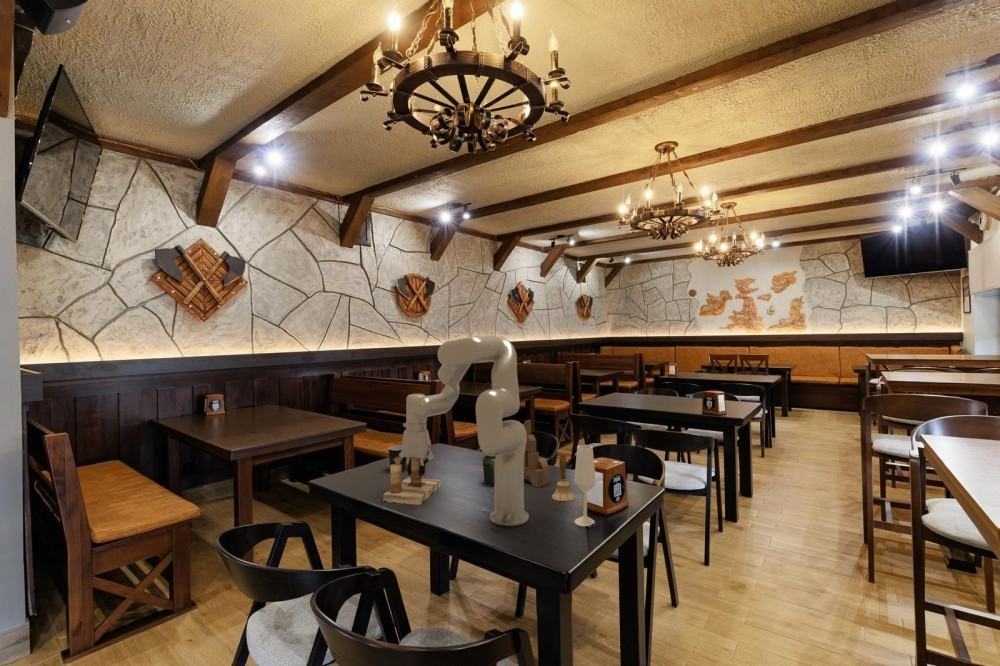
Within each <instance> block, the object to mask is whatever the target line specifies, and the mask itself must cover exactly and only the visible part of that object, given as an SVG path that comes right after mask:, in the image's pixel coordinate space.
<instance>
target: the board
mask: <svg viewBox="0 0 1000 666" xmlns="http://www.w3.org/2000/svg"><path fill="white" fill-rule="evenodd" d="M389 467H390V468H389V470H390V480H389V481H390V485H389V487H390V489H389V490H387V491H386V492H385V493H383V495H382V501H387V502H386V503H393V502H395V503H394V504H402V505H415V506H416V505H417V506H420V505H421V504H423V503H424V502H425V501H426V500H427V499H428V498H429V497H431V496H432V495H433V494H434V493H435V492H436V491H437V490H438V489H440V488H441V487H440V486H441V479H434V478H432V479H430V478H422V484H421V485H419V486H412V485H411V477H405V479H403V480H402V476H403V475H402V473H403V472H402V465H401V464H392V465H390V464H389ZM432 493H433V494H432ZM431 494H432V495H431ZM423 501H424V502H423ZM422 502H423V503H422ZM404 503H405V504H404Z"/></svg>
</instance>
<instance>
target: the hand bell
mask: <svg viewBox="0 0 1000 666" xmlns="http://www.w3.org/2000/svg"><path fill="white" fill-rule="evenodd" d="M558 462H559V463H558V464H559V468H560V481H557V484H556V489H555V492H554V493H553V494H552V495H551V498H552V499H553V500H554V501H556V500H557V502H559V501H570V500H573V499H574V498H576V497H575V495H574V494H573V493H572V491H571V485H570V482H568V481H566V480H567V479H566V469H567V458H566V456H565V454H564V453H561V454H560V457H559V461H558ZM574 500H575V499H574ZM574 500H573V501H574ZM570 502H571V501H570Z"/></svg>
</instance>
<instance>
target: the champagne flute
mask: <svg viewBox="0 0 1000 666" xmlns="http://www.w3.org/2000/svg"><path fill="white" fill-rule="evenodd" d="M593 448H594V447H593V446H592V445H589V444H578V445H577V447H576V449H577V450H576V458H575V469H574V481H573V482H574V484H575V486H576V487H577V488H578V489H579V490H580V491H581V492H582V516H580V517H578V518H576V519H575V520H574V521H575V522H574V524H576V525H578V526H581V527H585V526H589V527H591V526H590V525H592V524H594V523H595V522H596V521H595V520H594V519H592V518H590V517H589V516H588V492H589V491H590V490H592V489H593V488H594V486H595V485H596V483H597V482H596V481H597V480H596V479H597V478H596V468H595V459H594V450H593ZM594 521H595V522H594Z"/></svg>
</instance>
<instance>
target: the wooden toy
mask: <svg viewBox="0 0 1000 666" xmlns="http://www.w3.org/2000/svg"><path fill="white" fill-rule="evenodd" d="M522 425H523V426H524V427H525V430H526V434H527V441H526V447H525V454H524V481H525V479H526V480H527V477H528V478H529V480H530V483H531V486H533V487H536V488H541V487H543V486H546V485H549V482H550V469H549V468H550V467H549V463H548V461H547V460H546V459H545V457H544V458H543V457H542V458H540V455H539V451H537V439H536V436H535V435H534V434H533V433H532V421H531V419H527V420H525V421H524V422H523V423H522Z"/></svg>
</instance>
